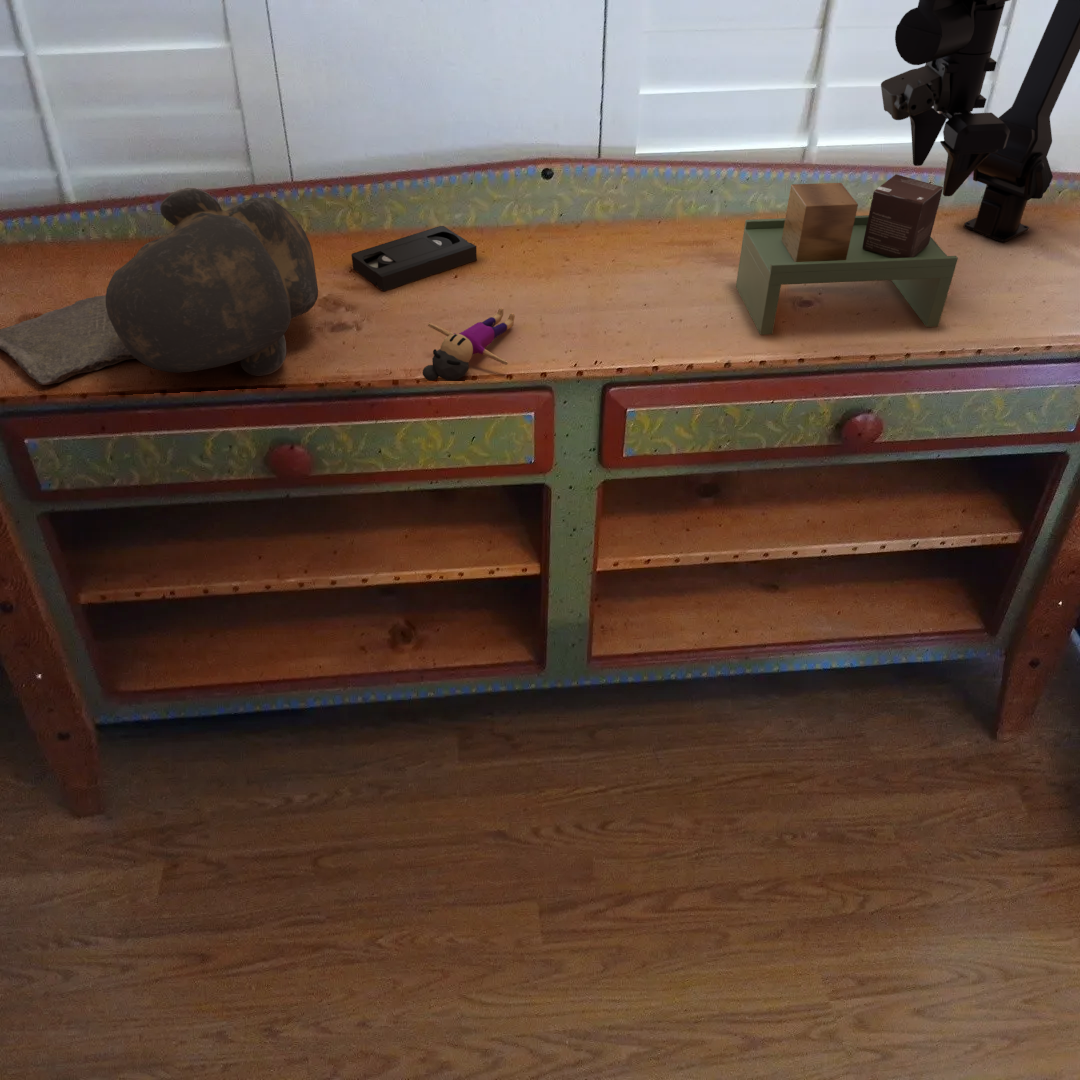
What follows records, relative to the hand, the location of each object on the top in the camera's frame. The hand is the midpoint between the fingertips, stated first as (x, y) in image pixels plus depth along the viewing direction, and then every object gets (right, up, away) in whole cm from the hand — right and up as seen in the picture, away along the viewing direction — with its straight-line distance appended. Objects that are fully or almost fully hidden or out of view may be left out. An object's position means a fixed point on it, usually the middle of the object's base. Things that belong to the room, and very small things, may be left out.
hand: (932, 180), depth 132 cm
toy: (-53, -19, -4) cm, 56 cm away
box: (-6, -10, -5) cm, 13 cm away
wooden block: (-16, -10, -6) cm, 20 cm away
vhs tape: (-65, -9, +8) cm, 66 cm away
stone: (-96, -18, -5) cm, 98 cm away
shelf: (-12, -16, 0) cm, 20 cm away
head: (-73, -10, -11) cm, 75 cm away
